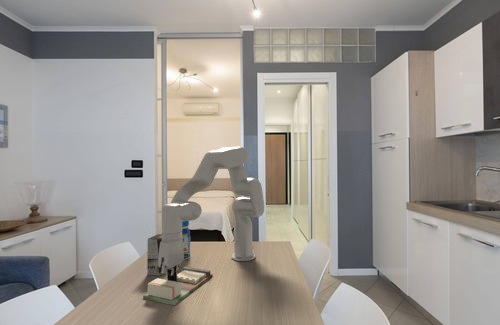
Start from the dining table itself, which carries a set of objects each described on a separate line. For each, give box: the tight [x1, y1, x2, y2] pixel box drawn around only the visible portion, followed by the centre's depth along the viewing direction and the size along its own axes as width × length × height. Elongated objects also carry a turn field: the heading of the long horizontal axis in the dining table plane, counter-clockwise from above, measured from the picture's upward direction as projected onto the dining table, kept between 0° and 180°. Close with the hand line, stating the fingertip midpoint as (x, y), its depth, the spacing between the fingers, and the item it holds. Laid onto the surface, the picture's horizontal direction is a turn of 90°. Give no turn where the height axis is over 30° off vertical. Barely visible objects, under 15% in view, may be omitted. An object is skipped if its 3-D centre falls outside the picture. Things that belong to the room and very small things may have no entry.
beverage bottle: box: [182, 221, 191, 261], centre depth 140 cm, size 8×8×20 cm
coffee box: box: [146, 233, 163, 277], centre depth 122 cm, size 9×6×16 cm
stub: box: [147, 277, 181, 300], centre depth 97 cm, size 5×11×4 cm, turn 68°
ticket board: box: [142, 266, 214, 306], centre depth 106 cm, size 26×14×3 cm, turn 158°
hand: (172, 284), depth 101 cm, fingers closed
